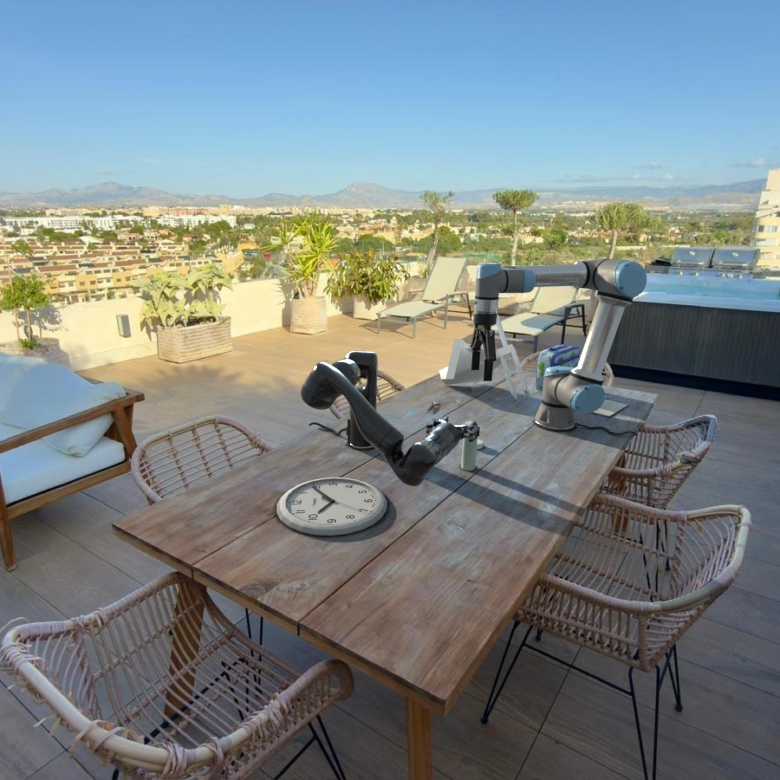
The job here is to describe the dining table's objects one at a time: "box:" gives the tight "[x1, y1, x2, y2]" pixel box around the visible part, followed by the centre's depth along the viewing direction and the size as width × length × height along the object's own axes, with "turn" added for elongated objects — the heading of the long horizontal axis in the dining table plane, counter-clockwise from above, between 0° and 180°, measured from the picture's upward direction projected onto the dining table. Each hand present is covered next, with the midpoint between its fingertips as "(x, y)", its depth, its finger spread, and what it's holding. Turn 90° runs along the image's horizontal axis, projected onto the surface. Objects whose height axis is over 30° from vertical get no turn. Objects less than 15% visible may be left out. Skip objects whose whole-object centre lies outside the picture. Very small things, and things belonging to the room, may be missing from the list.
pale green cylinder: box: [460, 420, 478, 472], centre depth 165 cm, size 4×4×15 cm
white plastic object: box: [438, 313, 531, 400], centre depth 245 cm, size 37×45×31 cm
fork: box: [427, 396, 442, 412], centre depth 222 cm, size 3×16×2 cm, turn 160°
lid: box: [477, 438, 484, 450], centre depth 183 cm, size 5×5×2 cm
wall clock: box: [276, 476, 388, 537], centre depth 142 cm, size 30×2×30 cm
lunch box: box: [535, 344, 581, 392], centre depth 247 cm, size 26×11×21 cm, turn 134°
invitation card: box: [592, 398, 629, 418], centre depth 226 cm, size 21×1×15 cm
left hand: (460, 421), depth 152 cm, fingers open, 8 cm apart
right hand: (481, 375), depth 175 cm, fingers open, 13 cm apart
